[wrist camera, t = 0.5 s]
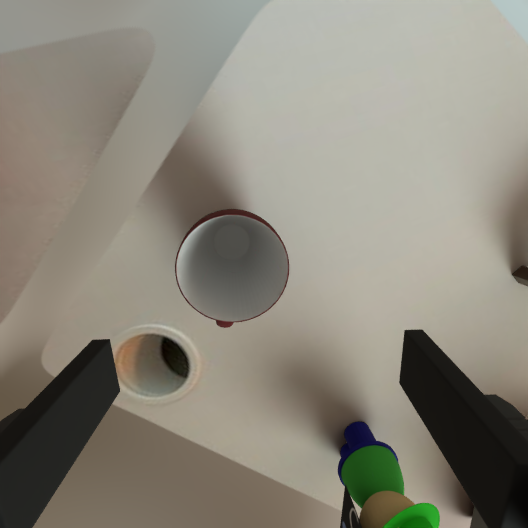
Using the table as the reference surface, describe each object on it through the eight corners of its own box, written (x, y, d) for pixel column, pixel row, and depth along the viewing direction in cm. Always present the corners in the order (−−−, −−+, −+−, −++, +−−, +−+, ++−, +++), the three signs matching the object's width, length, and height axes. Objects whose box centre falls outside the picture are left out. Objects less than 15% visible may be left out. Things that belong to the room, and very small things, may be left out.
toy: (324, 414, 39) (380, 554, 25) (392, 411, 40) (484, 543, 26) (319, 472, 41) (367, 630, 27) (383, 467, 42) (462, 618, 28)
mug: (270, 301, 34) (287, 350, 25) (193, 303, 33) (180, 355, 24) (272, 200, 31) (291, 212, 22) (188, 200, 31) (170, 213, 21)
